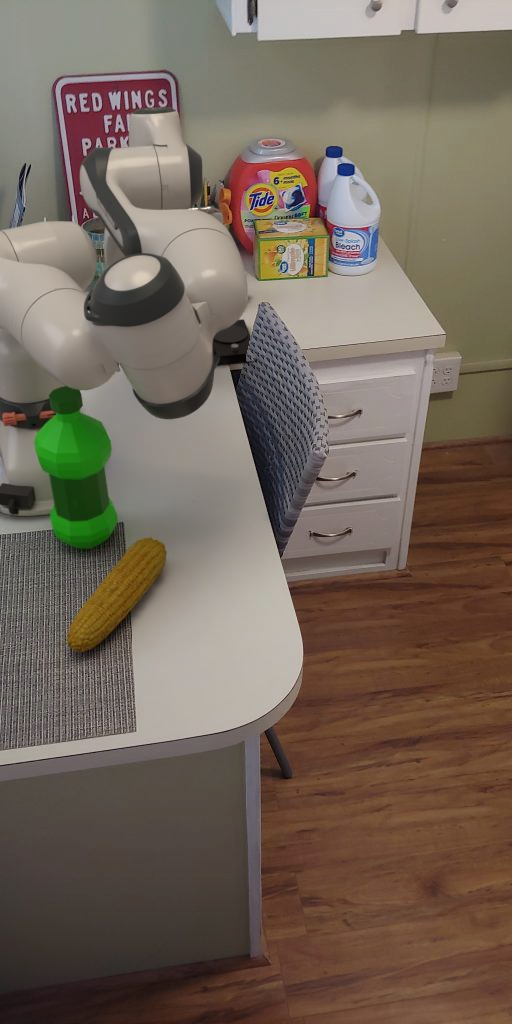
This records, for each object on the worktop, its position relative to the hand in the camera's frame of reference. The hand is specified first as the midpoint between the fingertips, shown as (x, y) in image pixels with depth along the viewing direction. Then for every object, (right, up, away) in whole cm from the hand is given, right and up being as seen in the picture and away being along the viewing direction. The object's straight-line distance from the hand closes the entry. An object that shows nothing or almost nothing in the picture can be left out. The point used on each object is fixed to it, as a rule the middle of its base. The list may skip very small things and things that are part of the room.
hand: (166, 287), depth 162 cm
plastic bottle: (-10, -43, -23) cm, 50 cm away
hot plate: (+7, -6, +23) cm, 24 cm away
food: (-3, -52, -34) cm, 63 cm away
